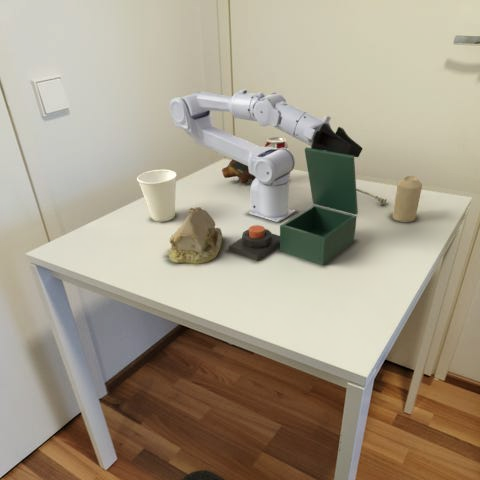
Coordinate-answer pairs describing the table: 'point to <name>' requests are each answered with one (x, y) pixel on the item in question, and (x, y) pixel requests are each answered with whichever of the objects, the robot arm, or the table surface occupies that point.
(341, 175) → the lid
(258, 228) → the button
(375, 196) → the soupspoon
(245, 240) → the switch block
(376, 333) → the table surface
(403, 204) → the candle
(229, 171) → the decorative turtle
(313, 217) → the box
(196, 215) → the ceramic model
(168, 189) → the cup
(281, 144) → the soda can
